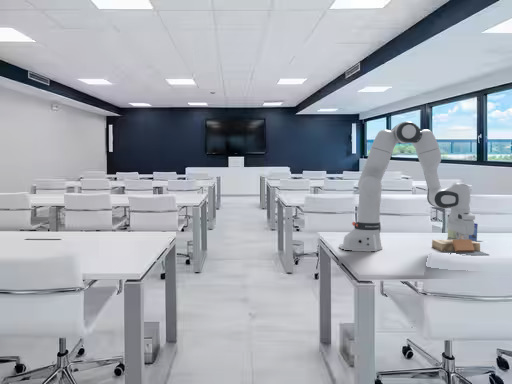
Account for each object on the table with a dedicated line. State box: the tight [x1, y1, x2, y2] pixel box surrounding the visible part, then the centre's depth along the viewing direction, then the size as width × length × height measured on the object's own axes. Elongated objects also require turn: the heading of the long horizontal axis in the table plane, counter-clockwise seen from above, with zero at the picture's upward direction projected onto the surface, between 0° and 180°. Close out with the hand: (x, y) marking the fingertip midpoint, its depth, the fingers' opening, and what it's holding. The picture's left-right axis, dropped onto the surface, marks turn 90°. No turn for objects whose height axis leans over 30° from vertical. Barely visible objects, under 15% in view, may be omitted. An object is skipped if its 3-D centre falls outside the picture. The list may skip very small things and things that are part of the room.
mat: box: [443, 250, 490, 256], centre depth 210 cm, size 18×10×1 cm, turn 92°
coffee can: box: [447, 214, 457, 240], centre depth 250 cm, size 10×10×14 cm
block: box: [452, 239, 475, 252], centre depth 213 cm, size 9×6×2 cm
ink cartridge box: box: [462, 222, 479, 242], centre depth 233 cm, size 10×6×14 cm, turn 11°
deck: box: [431, 239, 481, 252], centre depth 221 cm, size 20×11×4 cm, turn 92°
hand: (459, 240), depth 217 cm, fingers closed
